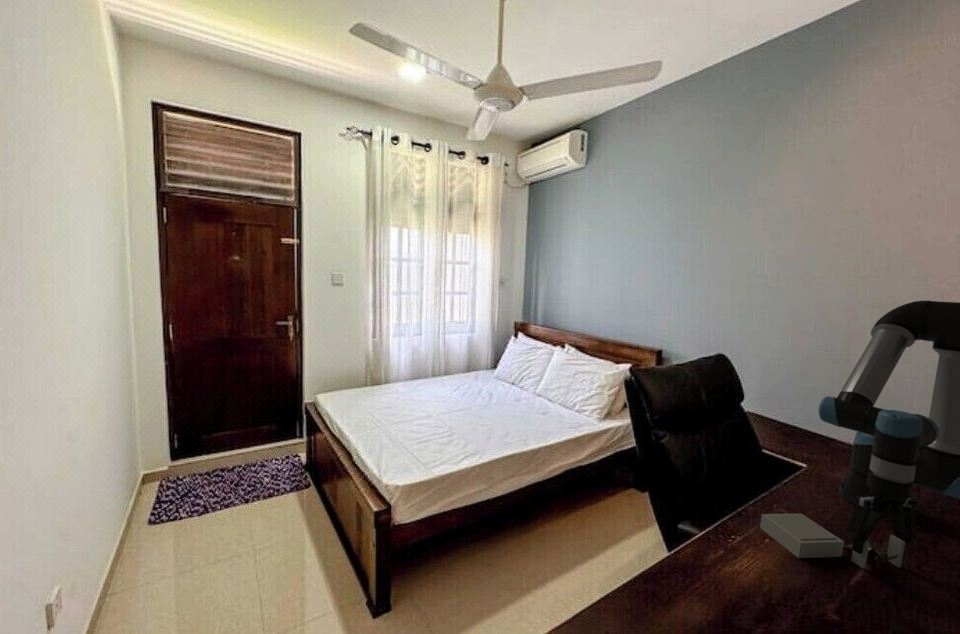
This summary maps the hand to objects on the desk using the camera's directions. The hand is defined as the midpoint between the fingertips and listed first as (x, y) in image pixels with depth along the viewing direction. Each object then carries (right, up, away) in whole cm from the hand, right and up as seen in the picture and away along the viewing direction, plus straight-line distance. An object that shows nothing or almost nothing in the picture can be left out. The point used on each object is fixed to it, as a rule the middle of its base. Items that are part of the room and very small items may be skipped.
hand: (875, 563), depth 99 cm
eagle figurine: (0, 0, +2) cm, 2 cm away
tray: (-13, +1, +8) cm, 15 cm away
